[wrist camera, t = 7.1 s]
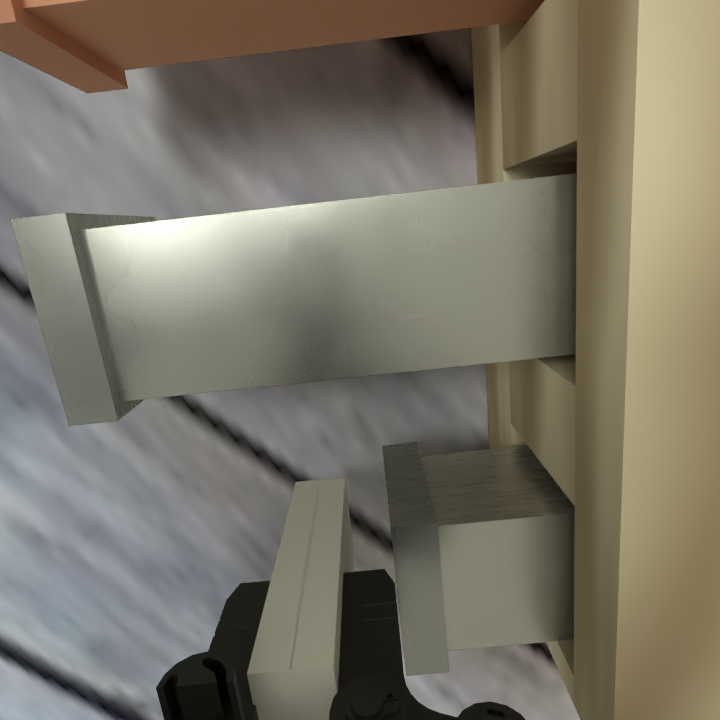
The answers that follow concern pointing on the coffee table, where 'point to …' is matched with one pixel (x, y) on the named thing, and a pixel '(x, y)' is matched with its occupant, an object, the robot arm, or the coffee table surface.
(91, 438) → the coffee table surface
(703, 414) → the socket block
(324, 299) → the grey plug middle
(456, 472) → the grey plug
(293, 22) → the terracotta plug
